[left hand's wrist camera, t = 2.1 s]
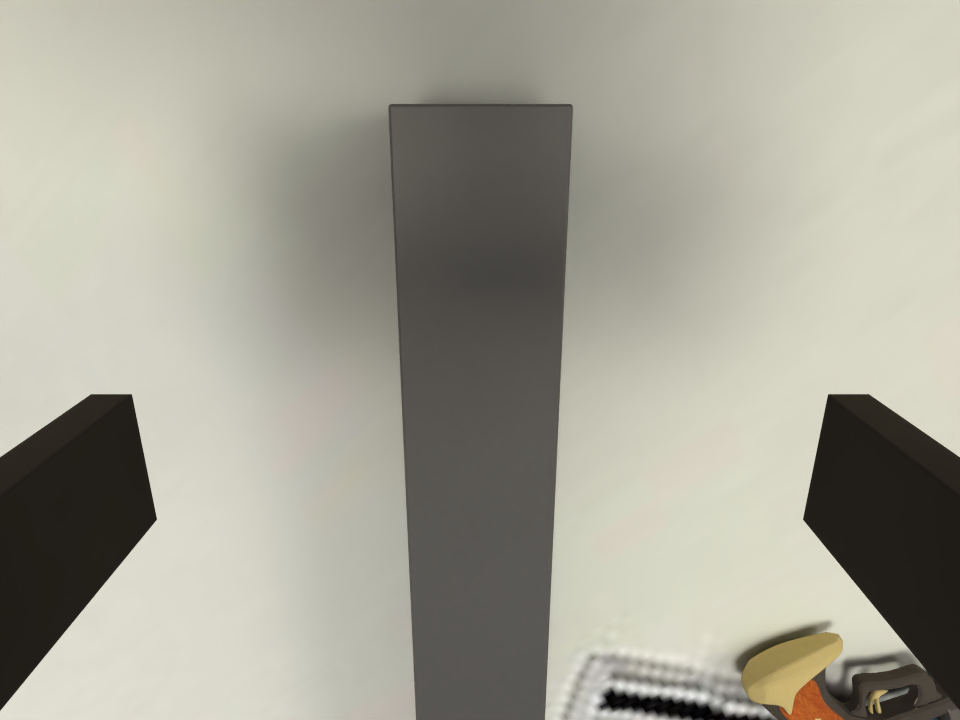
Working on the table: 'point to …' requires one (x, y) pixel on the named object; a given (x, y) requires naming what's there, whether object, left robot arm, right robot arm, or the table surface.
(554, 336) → the bar
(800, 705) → the toy gun
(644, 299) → the table surface
